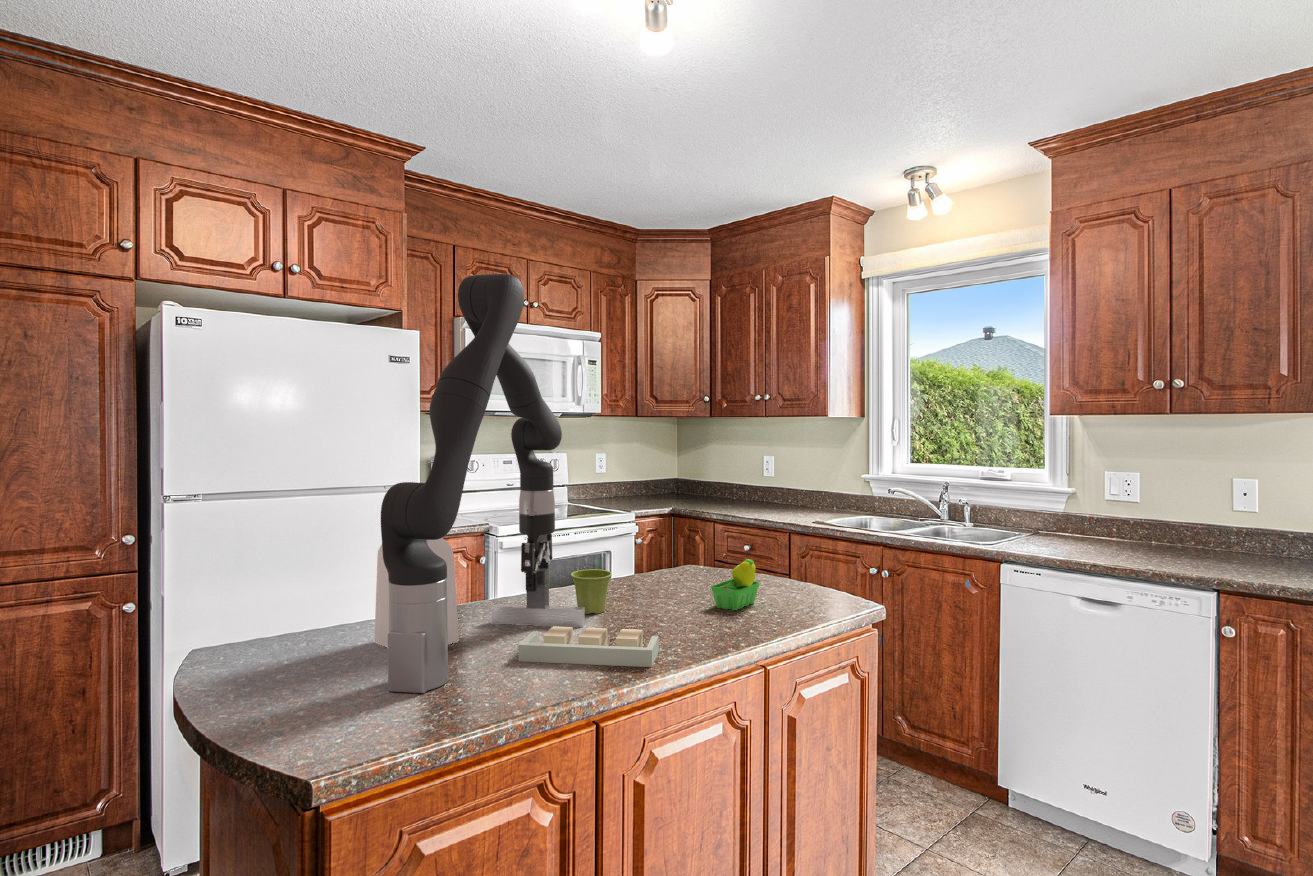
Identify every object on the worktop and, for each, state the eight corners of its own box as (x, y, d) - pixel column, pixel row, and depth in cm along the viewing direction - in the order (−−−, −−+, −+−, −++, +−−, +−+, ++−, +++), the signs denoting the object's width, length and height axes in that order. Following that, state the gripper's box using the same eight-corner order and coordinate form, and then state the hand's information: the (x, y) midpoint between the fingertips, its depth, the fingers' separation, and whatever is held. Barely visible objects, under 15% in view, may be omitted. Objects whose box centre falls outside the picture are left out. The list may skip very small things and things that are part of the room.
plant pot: (620, 609, 165) (620, 572, 164) (595, 619, 157) (595, 579, 156) (588, 604, 170) (588, 567, 169) (562, 613, 162) (562, 574, 161)
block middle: (599, 659, 130) (599, 637, 130) (578, 658, 131) (578, 636, 131) (607, 649, 136) (607, 628, 136) (587, 648, 137) (587, 627, 137)
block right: (637, 661, 129) (637, 639, 129) (615, 660, 130) (615, 638, 130) (642, 650, 135) (642, 629, 135) (621, 649, 136) (621, 629, 135)
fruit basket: (733, 598, 175) (733, 552, 174) (765, 603, 169) (766, 556, 169) (708, 608, 165) (708, 559, 165) (742, 614, 160) (742, 564, 160)
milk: (459, 641, 141) (457, 510, 140) (404, 655, 132) (402, 516, 132) (427, 630, 149) (426, 505, 148) (374, 642, 140) (372, 510, 140)
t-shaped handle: (581, 629, 150) (581, 572, 149) (490, 625, 152) (490, 569, 152) (585, 625, 152) (585, 569, 152) (495, 621, 155) (495, 567, 155)
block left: (564, 658, 131) (564, 636, 131) (543, 657, 132) (543, 635, 131) (573, 647, 137) (572, 627, 137) (552, 647, 137) (552, 626, 137)
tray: (652, 667, 125) (652, 650, 125) (518, 661, 129) (518, 644, 129) (658, 651, 134) (658, 636, 134) (533, 646, 137) (533, 631, 137)
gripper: (530, 506, 160) (531, 578, 160) (508, 514, 145) (509, 593, 146) (563, 507, 159) (563, 579, 159) (544, 515, 144) (544, 595, 145)
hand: (537, 586), depth 152 cm, fingers open, 8 cm apart
